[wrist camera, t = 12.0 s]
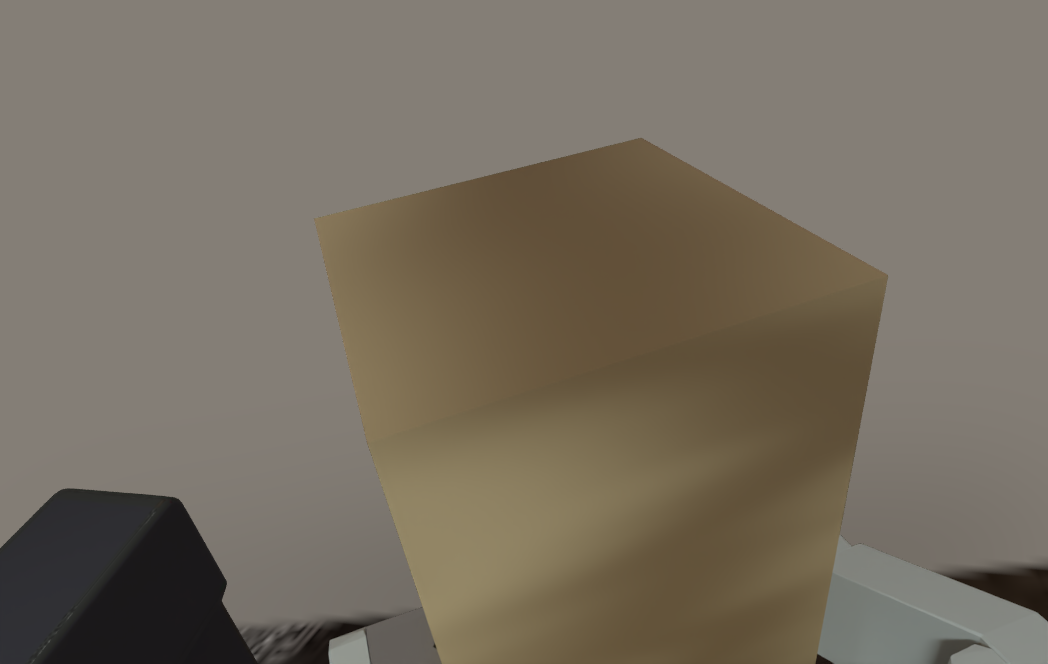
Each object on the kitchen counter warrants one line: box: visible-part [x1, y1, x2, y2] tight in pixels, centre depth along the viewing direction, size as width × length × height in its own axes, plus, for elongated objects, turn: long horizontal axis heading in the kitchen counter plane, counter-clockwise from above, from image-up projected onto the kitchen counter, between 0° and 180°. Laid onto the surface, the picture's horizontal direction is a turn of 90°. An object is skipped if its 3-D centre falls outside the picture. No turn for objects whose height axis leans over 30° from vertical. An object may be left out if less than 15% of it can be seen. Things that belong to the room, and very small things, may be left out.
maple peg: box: [314, 138, 888, 664], centre depth 10 cm, size 4×4×13 cm
